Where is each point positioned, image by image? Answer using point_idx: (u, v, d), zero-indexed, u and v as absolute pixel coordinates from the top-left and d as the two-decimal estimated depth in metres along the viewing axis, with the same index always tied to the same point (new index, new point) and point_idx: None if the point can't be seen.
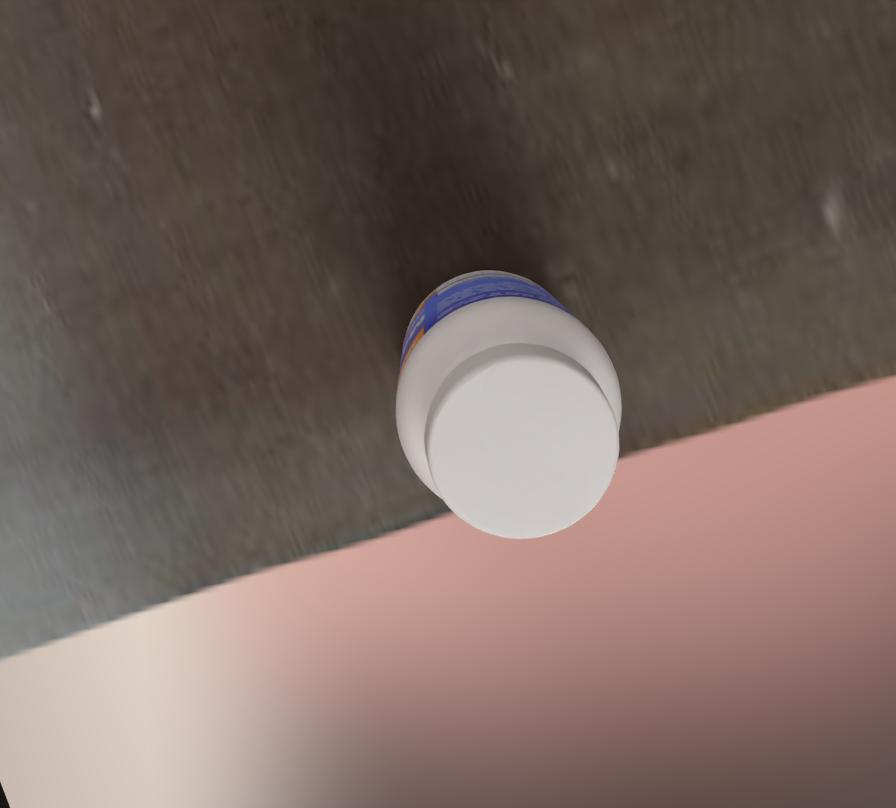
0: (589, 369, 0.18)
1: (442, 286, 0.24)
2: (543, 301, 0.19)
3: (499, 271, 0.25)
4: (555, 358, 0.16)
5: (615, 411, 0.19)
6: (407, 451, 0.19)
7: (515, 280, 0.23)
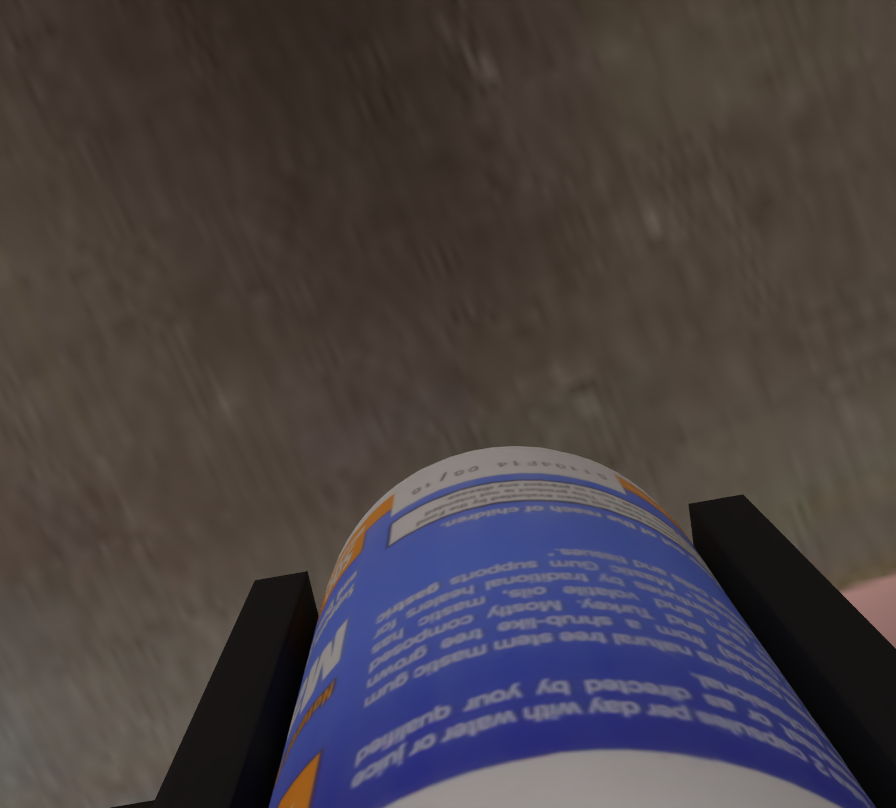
0: None
1: (406, 496, 0.10)
2: (738, 761, 0.05)
3: (541, 456, 0.10)
4: None
5: None
6: None
7: (590, 522, 0.09)
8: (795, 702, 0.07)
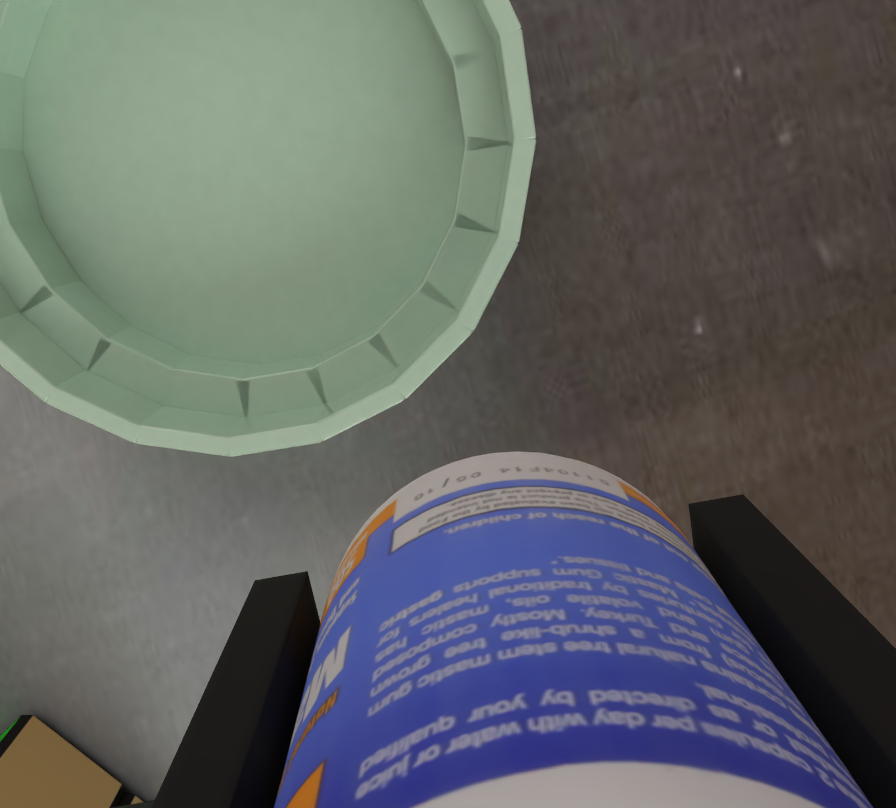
0: None
1: (409, 502, 0.10)
2: (743, 772, 0.05)
3: (543, 462, 0.10)
4: None
5: None
6: None
7: (593, 529, 0.09)
8: (799, 711, 0.07)
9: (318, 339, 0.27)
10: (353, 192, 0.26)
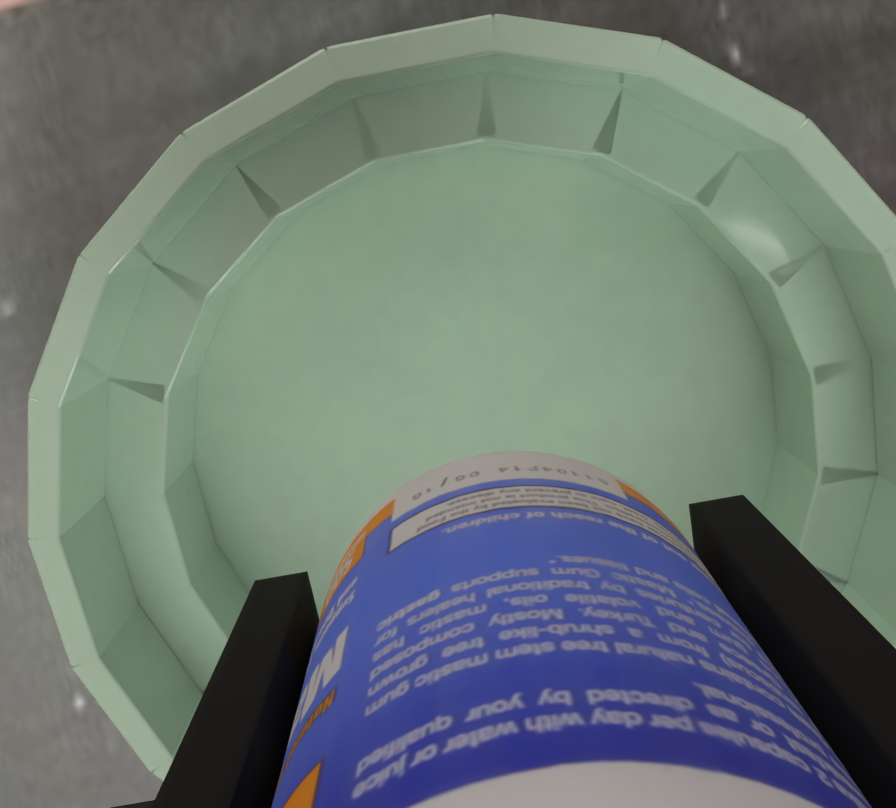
0: None
1: (407, 501, 0.10)
2: (741, 772, 0.05)
3: (542, 462, 0.10)
4: None
5: None
6: None
7: (592, 528, 0.09)
8: (798, 711, 0.07)
9: None
10: None
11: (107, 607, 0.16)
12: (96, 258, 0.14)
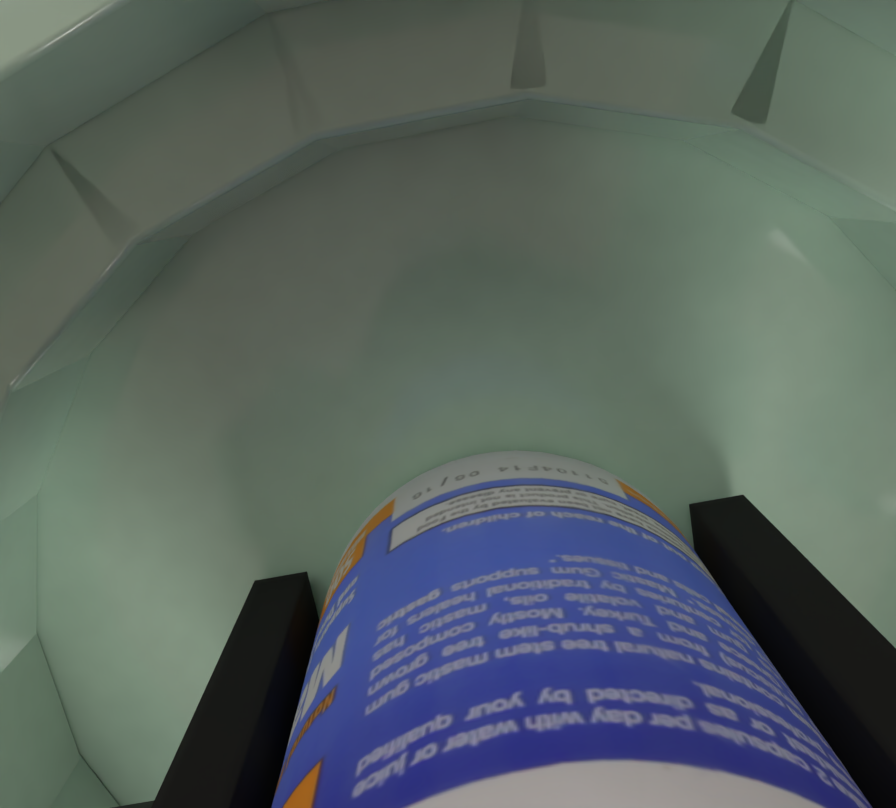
0: None
1: (407, 500, 0.10)
2: (740, 771, 0.05)
3: (542, 461, 0.10)
4: None
5: None
6: None
7: (592, 528, 0.09)
8: (797, 710, 0.07)
9: None
10: None
11: None
12: None
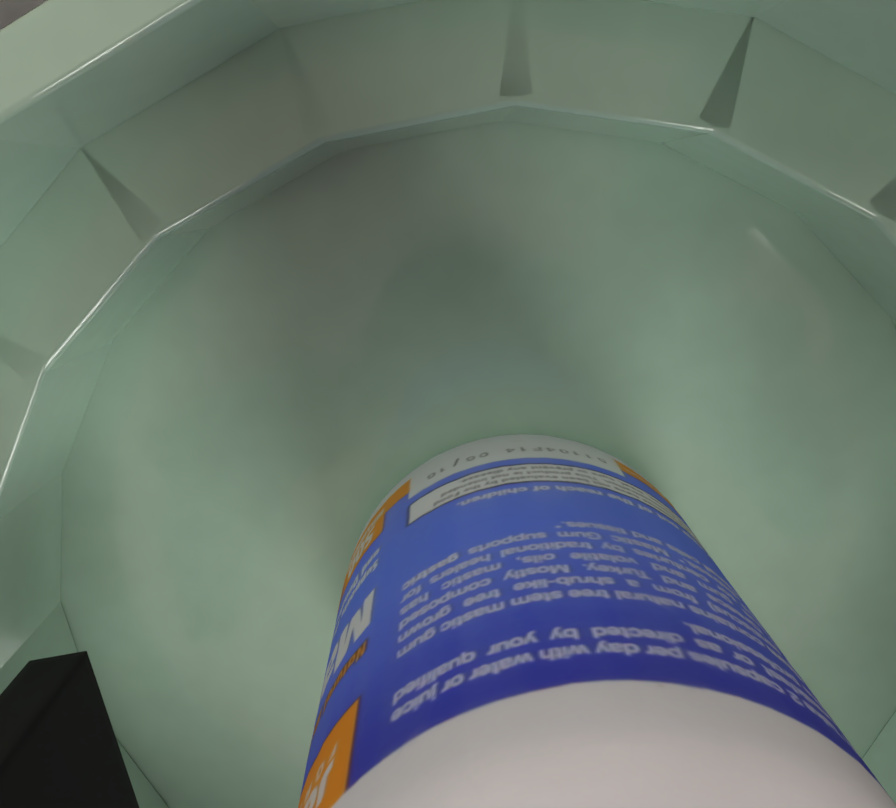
0: None
1: (422, 480, 0.11)
2: (723, 689, 0.06)
3: (545, 443, 0.11)
4: None
5: None
6: None
7: (593, 499, 0.09)
8: (776, 651, 0.08)
9: None
10: None
11: None
12: None
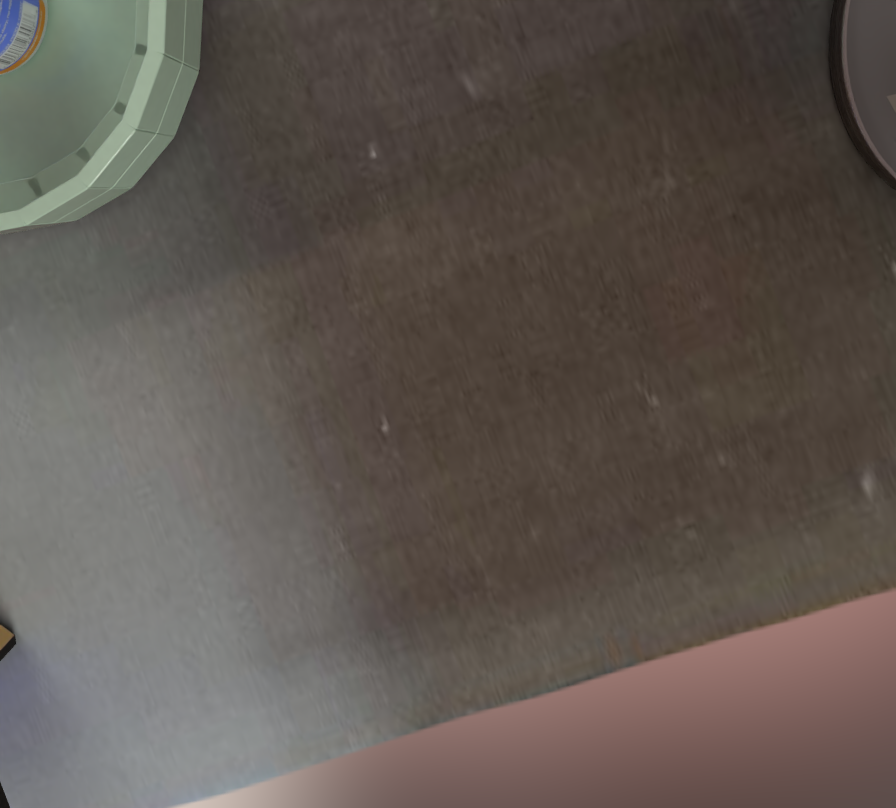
0: None
1: None
2: None
3: None
4: None
5: None
6: None
7: None
8: None
9: None
10: (69, 37, 0.32)
11: None
12: None
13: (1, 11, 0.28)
